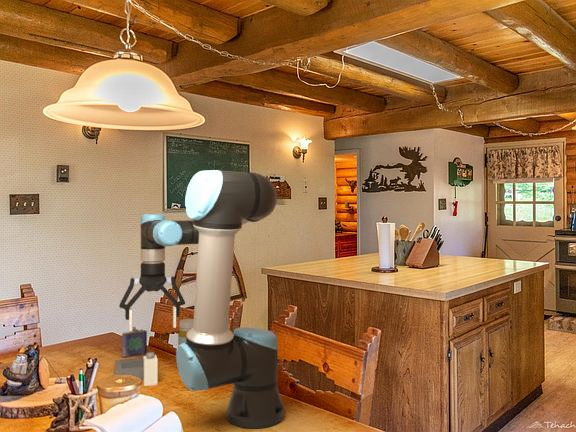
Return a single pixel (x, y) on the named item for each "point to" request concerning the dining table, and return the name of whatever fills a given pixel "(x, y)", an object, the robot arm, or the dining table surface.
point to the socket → (129, 367)
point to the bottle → (184, 330)
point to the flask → (134, 343)
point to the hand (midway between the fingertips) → (152, 328)
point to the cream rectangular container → (150, 369)
